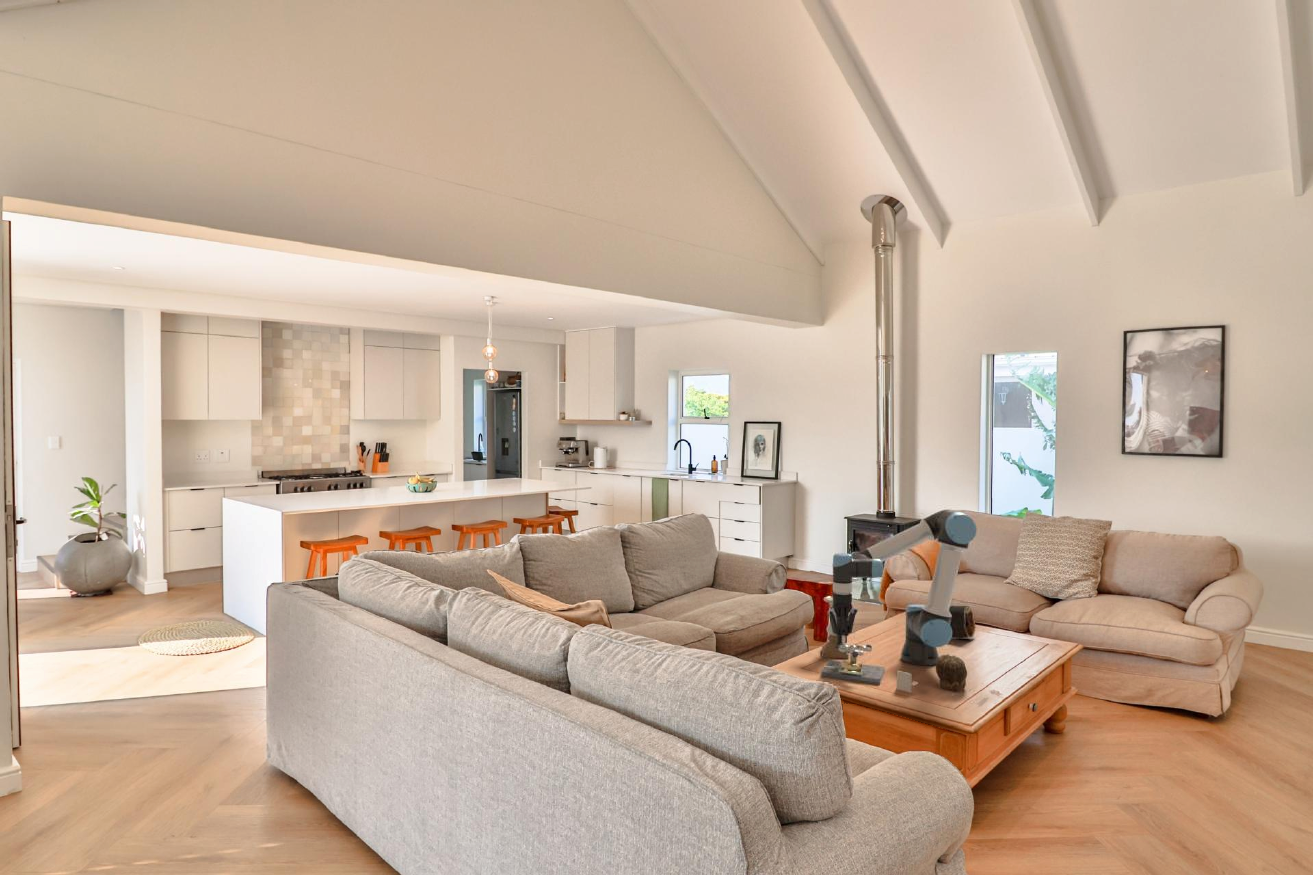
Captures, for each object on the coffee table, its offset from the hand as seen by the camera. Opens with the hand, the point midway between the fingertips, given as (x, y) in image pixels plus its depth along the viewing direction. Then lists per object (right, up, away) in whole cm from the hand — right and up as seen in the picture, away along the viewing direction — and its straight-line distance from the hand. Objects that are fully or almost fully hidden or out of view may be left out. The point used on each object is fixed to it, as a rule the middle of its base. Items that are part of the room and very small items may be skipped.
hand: (842, 651), depth 313 cm
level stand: (+3, -8, -5) cm, 10 cm away
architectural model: (+18, -9, -23) cm, 30 cm away
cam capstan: (+2, -5, -4) cm, 7 cm away
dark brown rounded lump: (+36, -9, -20) cm, 42 cm away
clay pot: (+60, -7, +53) cm, 80 cm away
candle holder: (+2, -7, +21) cm, 23 cm away
